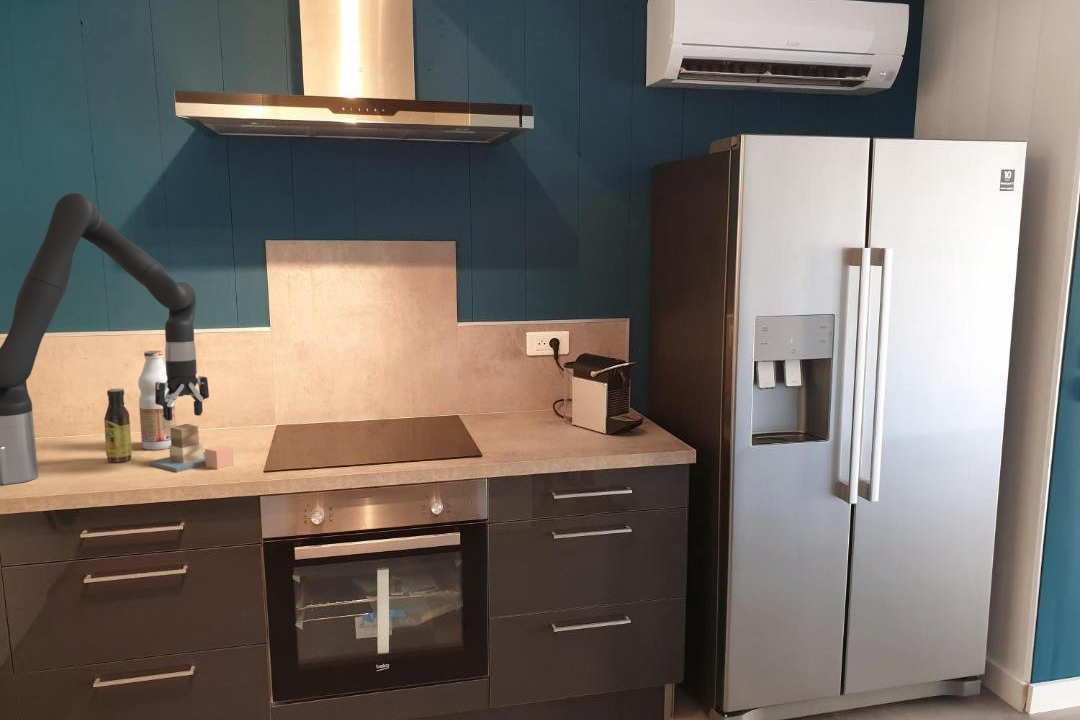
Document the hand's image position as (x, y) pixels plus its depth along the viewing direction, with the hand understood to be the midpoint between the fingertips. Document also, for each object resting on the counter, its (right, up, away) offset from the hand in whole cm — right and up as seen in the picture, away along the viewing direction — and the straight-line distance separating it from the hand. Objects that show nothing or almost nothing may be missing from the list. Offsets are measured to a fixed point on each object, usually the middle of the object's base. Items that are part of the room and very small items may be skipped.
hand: (183, 417), depth 224 cm
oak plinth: (0, -12, +2) cm, 13 cm away
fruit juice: (-15, -10, +19) cm, 27 cm away
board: (0, -12, +2) cm, 13 cm away
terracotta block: (+10, -13, 0) cm, 16 cm away
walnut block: (0, -7, +1) cm, 8 cm away
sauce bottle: (-19, -12, +4) cm, 23 cm away
